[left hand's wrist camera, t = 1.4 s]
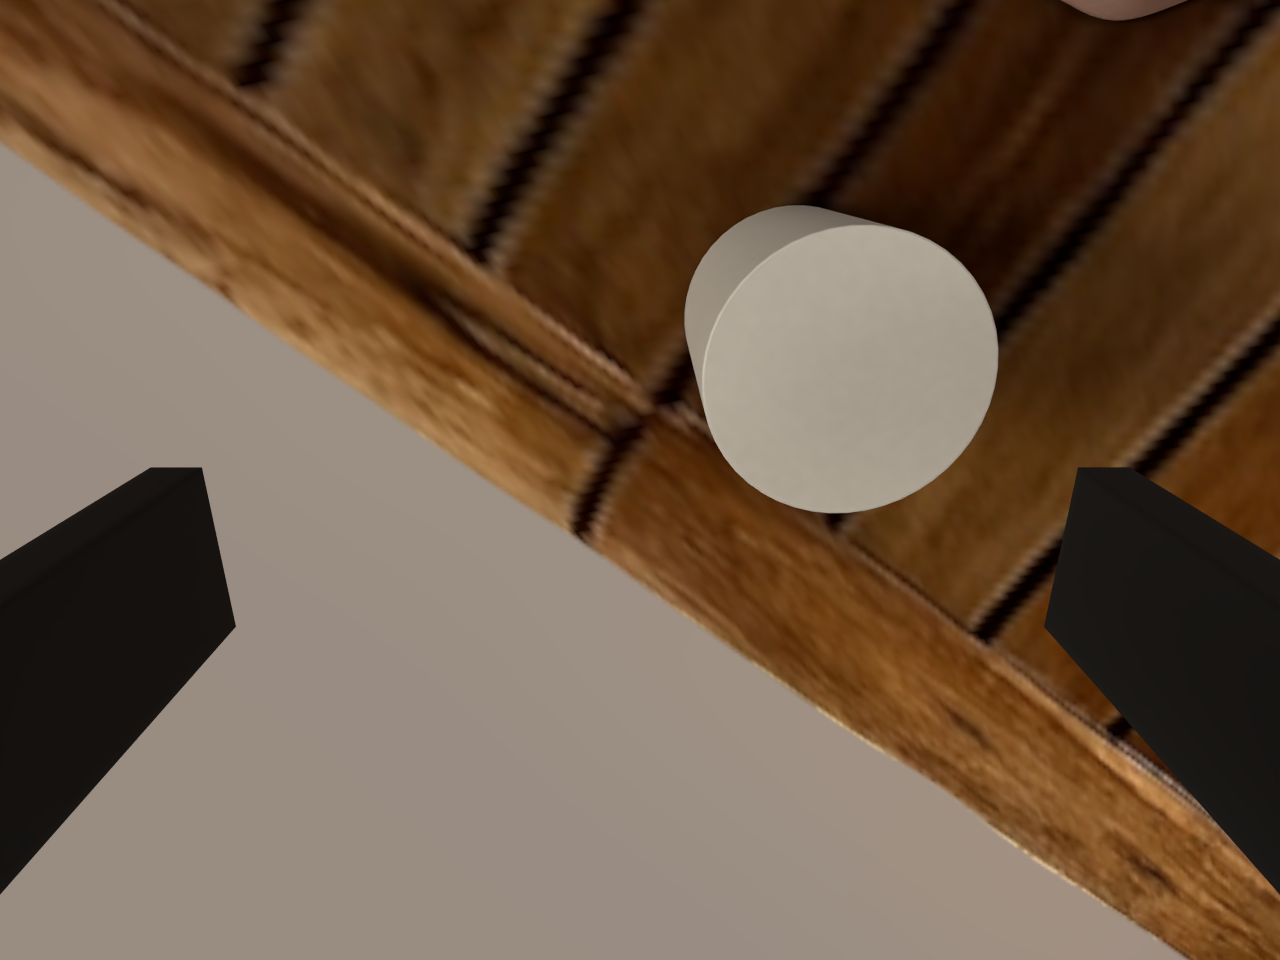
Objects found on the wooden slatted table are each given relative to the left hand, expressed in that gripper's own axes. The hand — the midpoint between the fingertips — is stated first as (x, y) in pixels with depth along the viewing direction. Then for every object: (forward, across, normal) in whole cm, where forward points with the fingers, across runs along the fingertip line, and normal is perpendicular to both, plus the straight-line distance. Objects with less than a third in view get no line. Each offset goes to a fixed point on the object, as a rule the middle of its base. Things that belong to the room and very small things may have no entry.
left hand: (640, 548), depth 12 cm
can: (+18, +5, 0) cm, 19 cm away
